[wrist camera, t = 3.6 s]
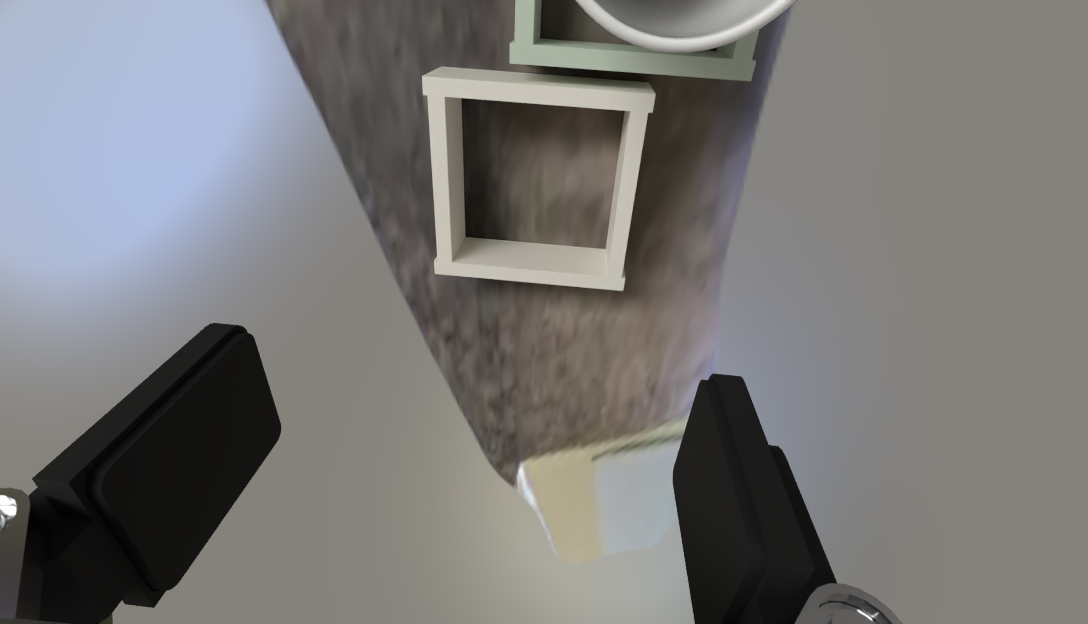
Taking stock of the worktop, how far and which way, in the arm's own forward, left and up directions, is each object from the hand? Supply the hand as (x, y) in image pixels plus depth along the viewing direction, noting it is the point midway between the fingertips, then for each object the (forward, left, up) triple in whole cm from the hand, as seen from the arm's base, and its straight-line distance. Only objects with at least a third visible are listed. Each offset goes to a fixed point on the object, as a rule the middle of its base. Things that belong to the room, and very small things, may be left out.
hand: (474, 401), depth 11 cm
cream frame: (+1, 0, -20) cm, 20 cm away
